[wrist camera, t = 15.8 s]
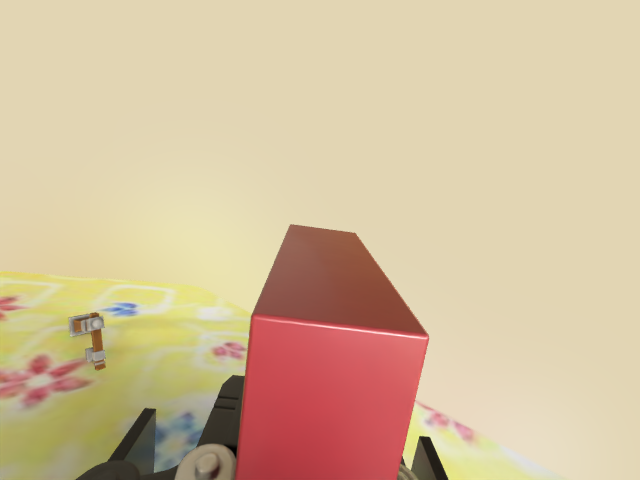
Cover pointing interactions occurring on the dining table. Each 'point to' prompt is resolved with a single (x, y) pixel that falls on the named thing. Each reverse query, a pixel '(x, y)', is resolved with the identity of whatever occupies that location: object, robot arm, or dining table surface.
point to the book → (328, 366)
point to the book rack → (142, 448)
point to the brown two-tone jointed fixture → (94, 326)
